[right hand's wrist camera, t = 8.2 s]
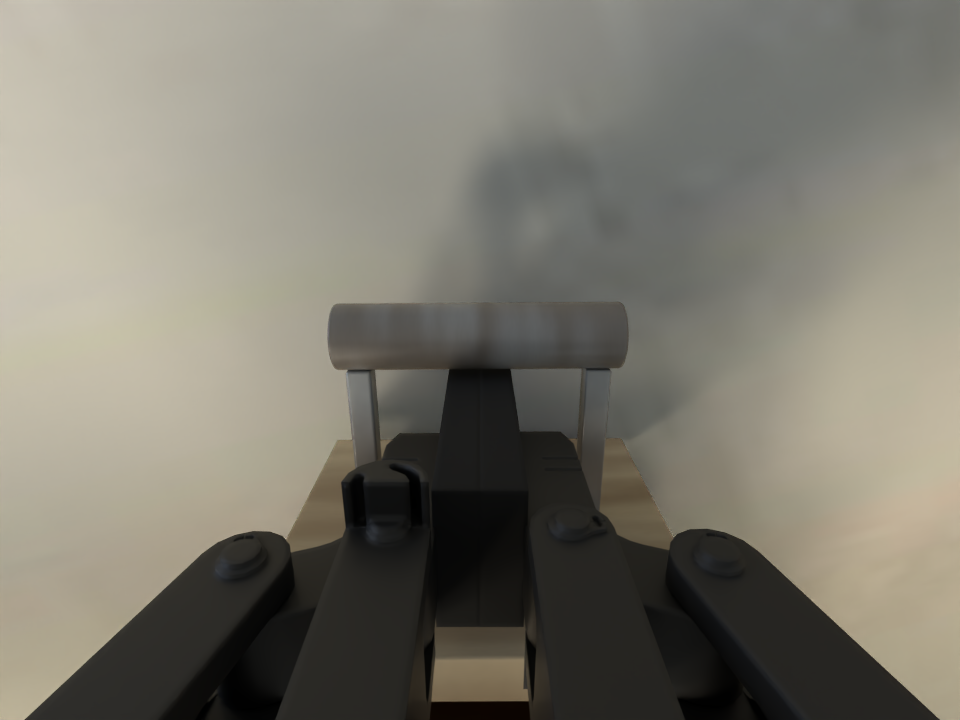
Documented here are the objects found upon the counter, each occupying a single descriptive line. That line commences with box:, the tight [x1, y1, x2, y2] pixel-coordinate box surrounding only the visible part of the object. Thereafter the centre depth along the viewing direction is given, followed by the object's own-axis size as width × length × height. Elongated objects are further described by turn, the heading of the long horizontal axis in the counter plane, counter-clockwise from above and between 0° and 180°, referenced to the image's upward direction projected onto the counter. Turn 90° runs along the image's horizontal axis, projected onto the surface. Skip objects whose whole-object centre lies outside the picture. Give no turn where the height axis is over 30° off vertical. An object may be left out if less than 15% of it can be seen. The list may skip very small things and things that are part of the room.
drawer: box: [286, 302, 673, 720], centre depth 16 cm, size 25×10×9 cm, turn 0°
